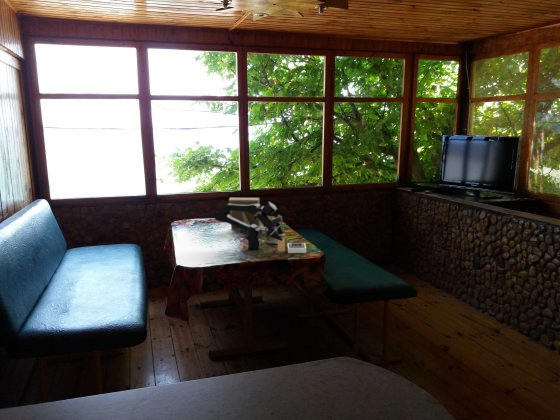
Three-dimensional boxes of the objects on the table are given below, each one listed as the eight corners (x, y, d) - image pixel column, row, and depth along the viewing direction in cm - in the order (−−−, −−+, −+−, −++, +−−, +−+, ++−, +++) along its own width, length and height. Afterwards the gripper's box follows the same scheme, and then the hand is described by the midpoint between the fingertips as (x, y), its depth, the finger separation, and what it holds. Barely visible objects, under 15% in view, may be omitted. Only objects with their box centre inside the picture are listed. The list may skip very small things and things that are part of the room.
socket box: (288, 253, 254) (287, 247, 254) (287, 247, 266) (287, 242, 265) (306, 252, 254) (306, 247, 254) (304, 247, 266) (304, 242, 266)
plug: (277, 251, 258) (277, 235, 256) (277, 249, 262) (277, 233, 261) (285, 251, 258) (284, 235, 256) (284, 249, 262) (284, 233, 261)
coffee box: (282, 242, 280) (282, 218, 277) (277, 244, 275) (277, 220, 272) (271, 240, 285) (270, 217, 282) (265, 242, 279) (265, 218, 277)
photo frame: (232, 228, 321) (231, 196, 316) (260, 229, 318) (260, 196, 314) (228, 233, 306) (227, 199, 301) (258, 234, 304) (257, 199, 299)
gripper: (271, 214, 248) (289, 233, 247) (278, 208, 266) (295, 226, 265) (258, 226, 251) (276, 245, 250) (266, 220, 269) (283, 238, 268)
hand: (283, 238), depth 259 cm, fingers open, 9 cm apart
